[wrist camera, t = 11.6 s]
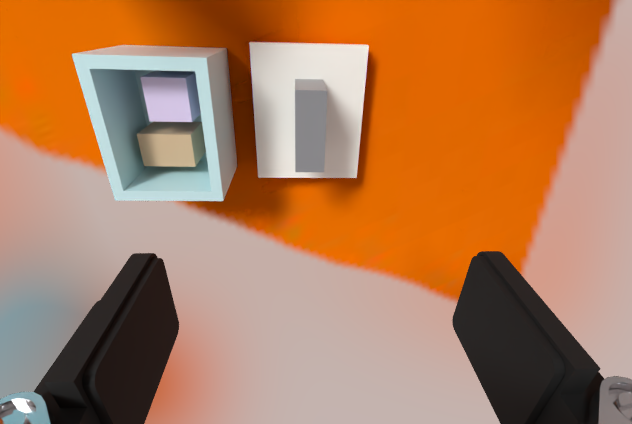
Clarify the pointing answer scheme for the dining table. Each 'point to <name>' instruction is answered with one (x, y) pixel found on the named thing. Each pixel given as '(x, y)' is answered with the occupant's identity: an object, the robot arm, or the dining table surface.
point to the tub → (161, 120)
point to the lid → (308, 108)
